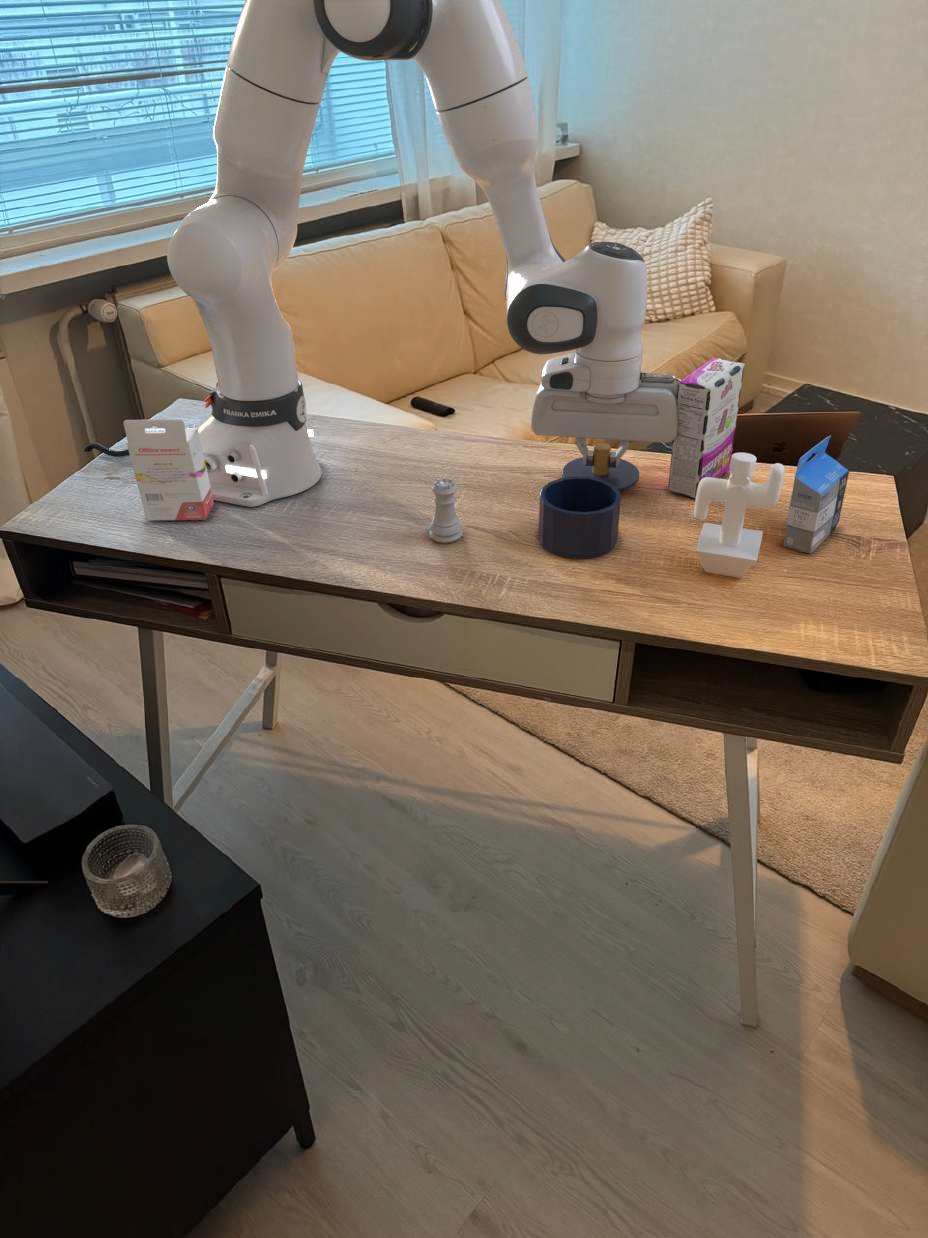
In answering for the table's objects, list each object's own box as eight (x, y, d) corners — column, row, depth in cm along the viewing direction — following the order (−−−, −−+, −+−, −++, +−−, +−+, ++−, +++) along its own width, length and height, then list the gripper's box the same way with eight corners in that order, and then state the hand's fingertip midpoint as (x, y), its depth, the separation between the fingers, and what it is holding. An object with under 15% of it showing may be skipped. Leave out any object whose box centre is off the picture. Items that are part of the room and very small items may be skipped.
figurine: (691, 545, 118) (707, 437, 110) (767, 558, 116) (789, 448, 107) (682, 574, 113) (697, 463, 104) (761, 588, 110) (783, 474, 102)
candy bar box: (698, 462, 138) (713, 355, 129) (730, 471, 136) (747, 362, 126) (664, 491, 131) (677, 380, 121) (696, 500, 128) (712, 388, 119)
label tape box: (810, 555, 116) (830, 466, 109) (779, 545, 118) (797, 457, 111) (838, 528, 121) (859, 442, 114) (808, 518, 123) (827, 433, 116)
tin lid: (558, 494, 129) (559, 460, 126) (566, 460, 138) (567, 428, 135) (637, 499, 127) (640, 465, 124) (640, 464, 136) (643, 432, 133)
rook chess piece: (459, 546, 120) (457, 491, 115) (425, 543, 121) (423, 488, 116) (466, 529, 123) (464, 475, 119) (433, 526, 124) (431, 472, 119)
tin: (534, 555, 117) (535, 510, 114) (543, 517, 126) (545, 474, 122) (614, 562, 116) (618, 516, 112) (619, 522, 124) (622, 479, 120)
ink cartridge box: (215, 503, 130) (195, 405, 122) (206, 520, 126) (185, 420, 118) (156, 504, 131) (132, 406, 122) (145, 521, 127) (119, 421, 118)
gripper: (686, 366, 124) (675, 459, 132) (536, 359, 128) (533, 451, 136) (686, 383, 119) (674, 479, 127) (530, 376, 122) (528, 470, 130)
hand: (601, 465), depth 131 cm, fingers closed on tin lid, 2 cm apart
